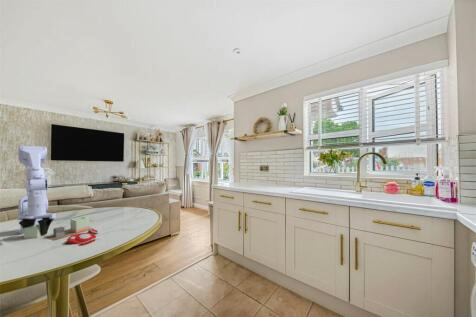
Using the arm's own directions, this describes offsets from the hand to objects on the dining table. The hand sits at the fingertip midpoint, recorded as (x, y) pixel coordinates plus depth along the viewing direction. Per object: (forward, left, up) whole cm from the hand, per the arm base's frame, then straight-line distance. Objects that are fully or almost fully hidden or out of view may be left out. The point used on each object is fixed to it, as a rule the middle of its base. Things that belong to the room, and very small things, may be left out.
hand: (36, 234), depth 83 cm
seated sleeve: (+10, +12, 0) cm, 16 cm away
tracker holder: (+25, +7, -2) cm, 27 cm away
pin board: (+10, +8, -1) cm, 13 cm away
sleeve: (0, 0, -1) cm, 1 cm away
